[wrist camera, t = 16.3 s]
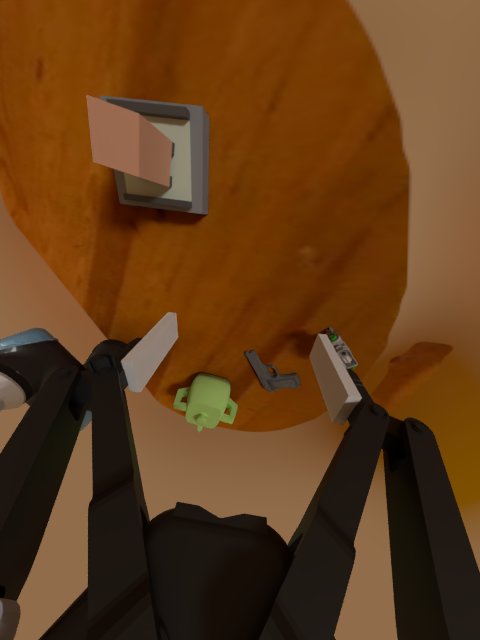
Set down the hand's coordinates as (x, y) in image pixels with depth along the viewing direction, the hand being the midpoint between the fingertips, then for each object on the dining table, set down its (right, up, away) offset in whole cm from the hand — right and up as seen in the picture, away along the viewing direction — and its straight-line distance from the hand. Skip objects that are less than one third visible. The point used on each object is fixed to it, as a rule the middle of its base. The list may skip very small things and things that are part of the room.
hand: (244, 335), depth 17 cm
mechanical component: (+23, -1, +31) cm, 39 cm away
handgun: (+10, -13, +40) cm, 43 cm away
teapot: (-11, -23, +48) cm, 54 cm away
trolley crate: (-15, +28, +14) cm, 35 cm away
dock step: (-14, +30, +17) cm, 38 cm away
